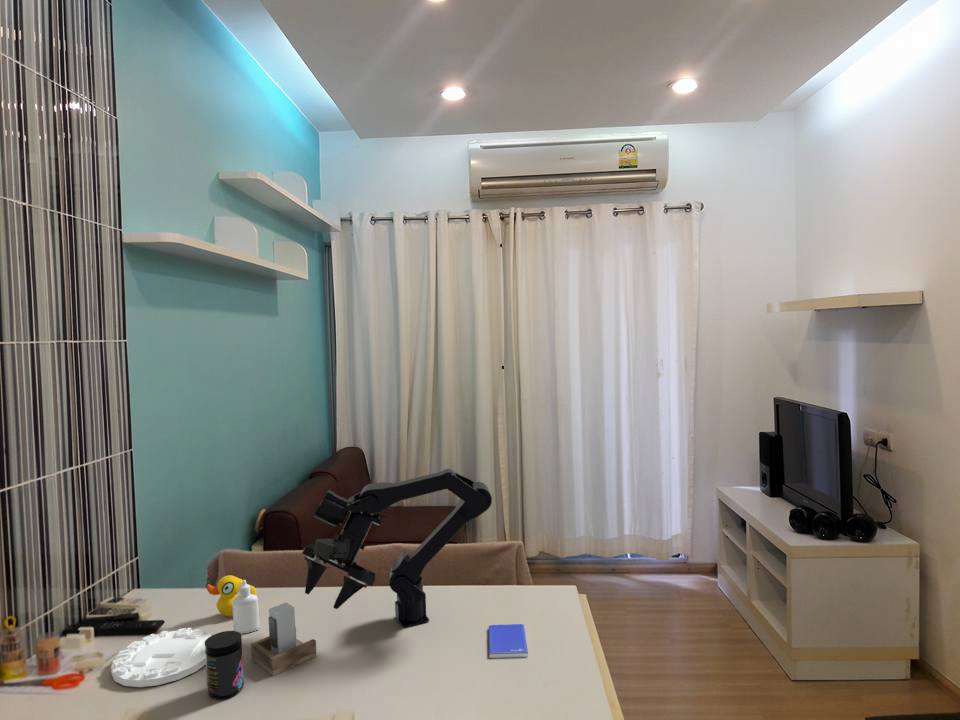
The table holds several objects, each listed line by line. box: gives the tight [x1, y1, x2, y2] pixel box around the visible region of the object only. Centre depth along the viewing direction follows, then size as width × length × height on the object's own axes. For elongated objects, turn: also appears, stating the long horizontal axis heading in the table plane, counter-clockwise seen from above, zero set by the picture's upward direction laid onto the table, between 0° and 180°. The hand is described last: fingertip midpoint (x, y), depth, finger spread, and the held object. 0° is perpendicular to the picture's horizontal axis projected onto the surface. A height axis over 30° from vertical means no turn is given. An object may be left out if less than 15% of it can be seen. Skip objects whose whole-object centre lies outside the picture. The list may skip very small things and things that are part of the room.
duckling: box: [206, 574, 258, 618], centre depth 155 cm, size 11×5×10 cm, turn 114°
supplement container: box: [205, 630, 245, 700], centre depth 122 cm, size 7×7×10 cm
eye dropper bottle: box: [232, 579, 260, 635], centre depth 147 cm, size 4×6×12 cm
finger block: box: [268, 602, 297, 656], centre depth 134 cm, size 4×4×10 cm
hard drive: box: [488, 623, 529, 659], centre depth 138 cm, size 2×8×12 cm
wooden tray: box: [250, 627, 317, 677], centre depth 134 cm, size 10×10×4 cm
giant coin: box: [110, 627, 212, 688], centre depth 134 cm, size 20×20×3 cm
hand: (320, 601), depth 141 cm, fingers open, 9 cm apart
